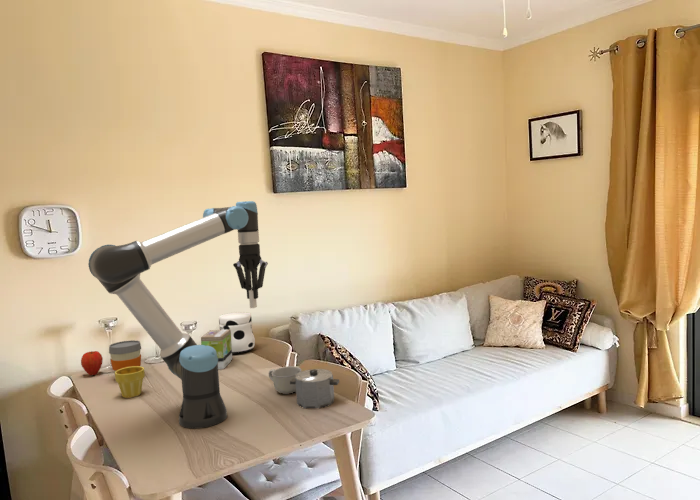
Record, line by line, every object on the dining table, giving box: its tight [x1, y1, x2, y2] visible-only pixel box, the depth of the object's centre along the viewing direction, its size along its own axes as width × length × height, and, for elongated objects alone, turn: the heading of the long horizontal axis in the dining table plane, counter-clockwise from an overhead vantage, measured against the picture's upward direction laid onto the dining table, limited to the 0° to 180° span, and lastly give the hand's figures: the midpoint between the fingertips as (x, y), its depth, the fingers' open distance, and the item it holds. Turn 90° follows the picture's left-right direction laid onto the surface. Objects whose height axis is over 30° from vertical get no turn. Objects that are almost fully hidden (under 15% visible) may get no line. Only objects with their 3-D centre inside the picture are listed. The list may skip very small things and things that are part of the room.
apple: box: [80, 350, 103, 376], centre depth 235 cm, size 9×8×11 cm
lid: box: [296, 368, 333, 383], centre depth 185 cm, size 13×13×2 cm
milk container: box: [218, 311, 256, 355], centre depth 263 cm, size 17×17×18 cm
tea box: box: [200, 329, 233, 370], centre depth 240 cm, size 15×10×15 cm, turn 179°
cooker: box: [290, 374, 340, 409], centre depth 186 cm, size 13×17×9 cm
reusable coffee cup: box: [108, 339, 142, 374], centre depth 227 cm, size 13×12×15 cm
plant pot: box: [114, 366, 146, 399], centre depth 205 cm, size 10×10×10 cm
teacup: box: [268, 365, 302, 395], centre depth 200 cm, size 14×11×8 cm
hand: (253, 307), depth 198 cm, fingers closed
